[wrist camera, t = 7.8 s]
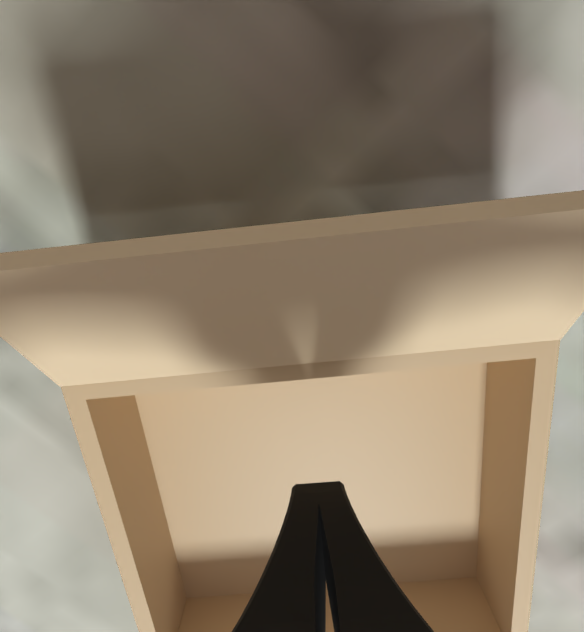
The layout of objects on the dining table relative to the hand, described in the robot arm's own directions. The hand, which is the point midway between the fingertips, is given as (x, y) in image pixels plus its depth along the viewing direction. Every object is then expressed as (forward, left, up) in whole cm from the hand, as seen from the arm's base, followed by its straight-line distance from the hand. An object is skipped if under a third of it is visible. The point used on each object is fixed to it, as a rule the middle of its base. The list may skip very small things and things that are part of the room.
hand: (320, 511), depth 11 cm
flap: (-3, -5, 0) cm, 6 cm away
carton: (+1, +2, -5) cm, 6 cm away
